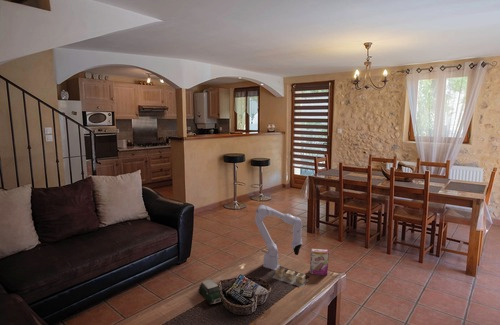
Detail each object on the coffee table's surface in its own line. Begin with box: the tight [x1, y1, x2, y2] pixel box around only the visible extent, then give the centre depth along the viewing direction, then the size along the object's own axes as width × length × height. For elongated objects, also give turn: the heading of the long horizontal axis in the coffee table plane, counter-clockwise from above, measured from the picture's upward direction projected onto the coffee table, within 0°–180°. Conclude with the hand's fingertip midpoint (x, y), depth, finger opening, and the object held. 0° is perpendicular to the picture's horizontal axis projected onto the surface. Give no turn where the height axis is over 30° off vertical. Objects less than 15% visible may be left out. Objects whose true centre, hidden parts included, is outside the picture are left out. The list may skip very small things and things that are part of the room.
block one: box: [275, 266, 286, 278], centre depth 202 cm, size 4×4×5 cm
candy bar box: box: [309, 248, 330, 276], centre depth 205 cm, size 11×5×16 cm, turn 84°
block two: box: [295, 272, 306, 285], centre depth 195 cm, size 4×4×5 cm
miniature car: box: [198, 278, 222, 306], centre depth 178 cm, size 9×18×8 cm, turn 33°
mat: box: [271, 272, 309, 288], centre depth 199 cm, size 21×10×1 cm, turn 59°
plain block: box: [285, 269, 296, 281], centre depth 198 cm, size 4×4×4 cm
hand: (296, 254), depth 213 cm, fingers closed
